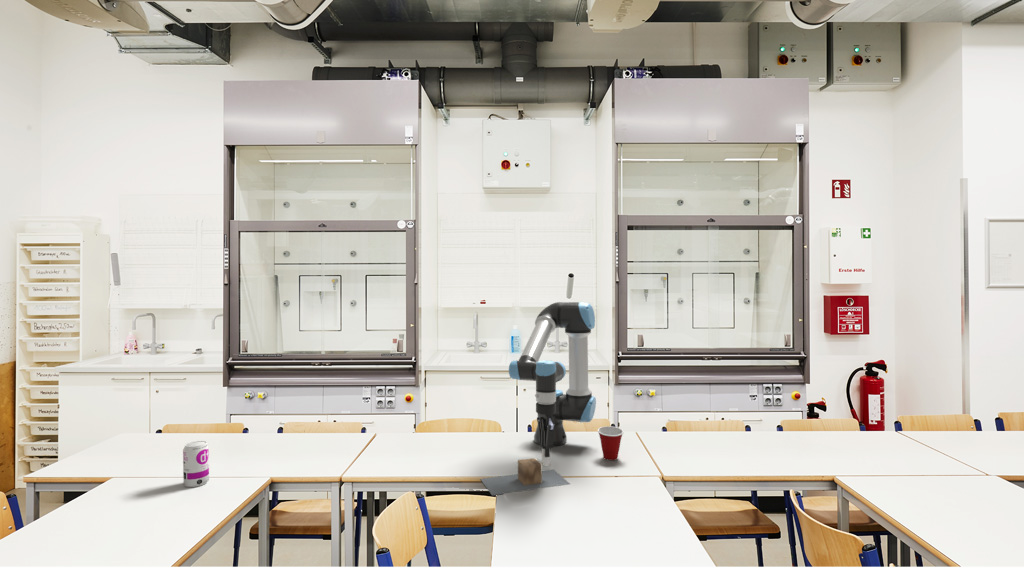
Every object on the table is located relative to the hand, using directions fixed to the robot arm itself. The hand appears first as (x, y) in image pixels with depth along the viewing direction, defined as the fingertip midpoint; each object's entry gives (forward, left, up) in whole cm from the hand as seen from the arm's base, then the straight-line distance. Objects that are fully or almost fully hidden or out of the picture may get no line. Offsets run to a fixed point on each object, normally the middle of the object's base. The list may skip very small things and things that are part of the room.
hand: (545, 464), depth 206 cm
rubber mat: (+8, 0, -6) cm, 10 cm away
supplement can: (+125, -40, -6) cm, 131 cm away
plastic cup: (-35, -13, -6) cm, 38 cm away
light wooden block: (+3, 0, -2) cm, 3 cm away
